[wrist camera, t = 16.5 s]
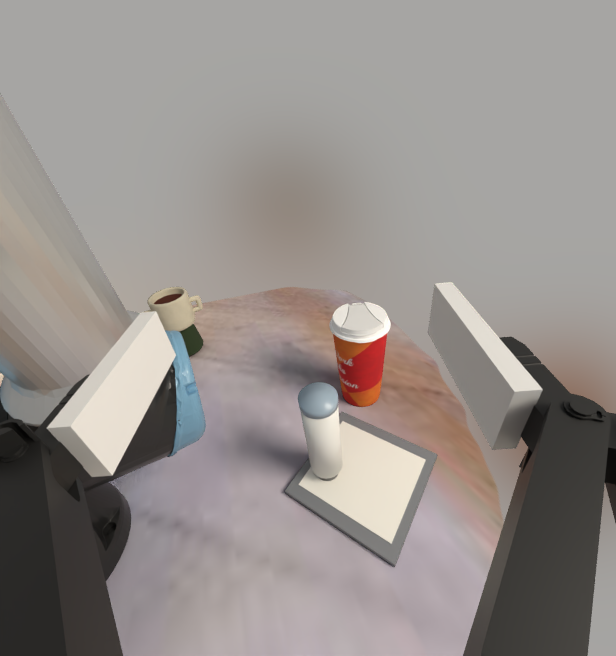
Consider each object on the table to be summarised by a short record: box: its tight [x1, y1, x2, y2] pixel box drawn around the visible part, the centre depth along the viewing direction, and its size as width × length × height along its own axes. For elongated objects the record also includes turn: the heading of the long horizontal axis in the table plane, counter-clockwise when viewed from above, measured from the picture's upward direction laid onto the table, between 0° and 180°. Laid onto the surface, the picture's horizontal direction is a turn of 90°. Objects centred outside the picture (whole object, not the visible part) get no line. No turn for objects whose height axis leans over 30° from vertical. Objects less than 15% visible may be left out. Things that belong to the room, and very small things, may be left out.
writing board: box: [285, 412, 437, 567], centre depth 39 cm, size 14×14×1 cm
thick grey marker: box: [298, 382, 343, 481], centre depth 36 cm, size 4×4×14 cm
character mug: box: [145, 287, 203, 356], centre depth 62 cm, size 11×7×13 cm, turn 118°
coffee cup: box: [330, 302, 391, 407], centre depth 46 cm, size 8×8×15 cm
